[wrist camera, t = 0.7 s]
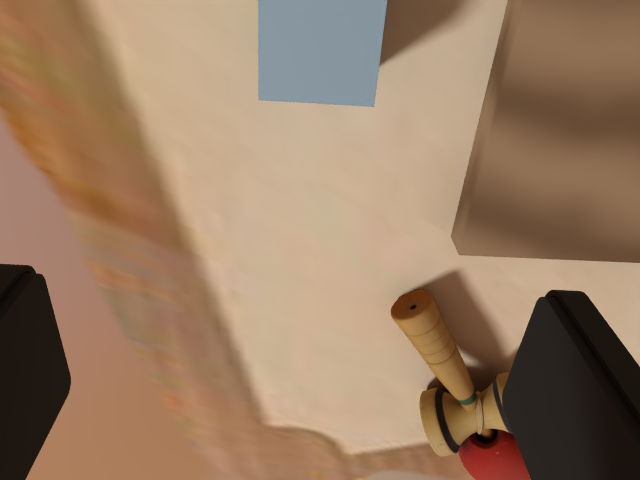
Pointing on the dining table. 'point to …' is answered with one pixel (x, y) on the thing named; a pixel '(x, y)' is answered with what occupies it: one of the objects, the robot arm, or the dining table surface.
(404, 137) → the dining table surface
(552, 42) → the board
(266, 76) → the cube
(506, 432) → the kendama
